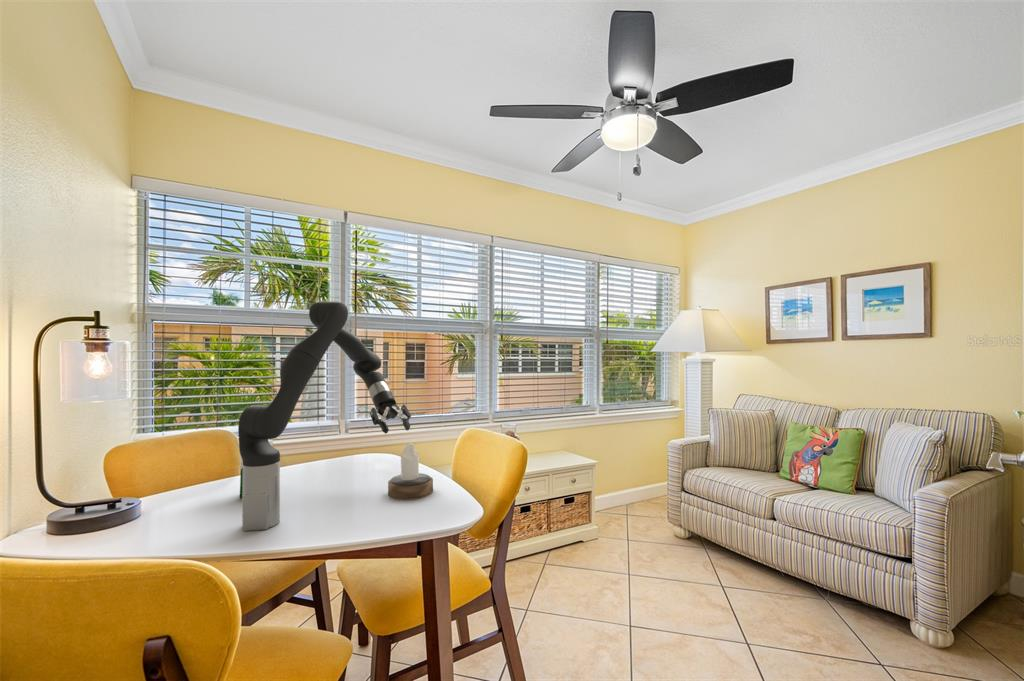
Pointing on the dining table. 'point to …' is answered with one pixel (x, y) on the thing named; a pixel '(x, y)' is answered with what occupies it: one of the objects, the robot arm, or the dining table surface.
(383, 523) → the dining table surface
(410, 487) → the podium
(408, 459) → the white tall rounded piece
